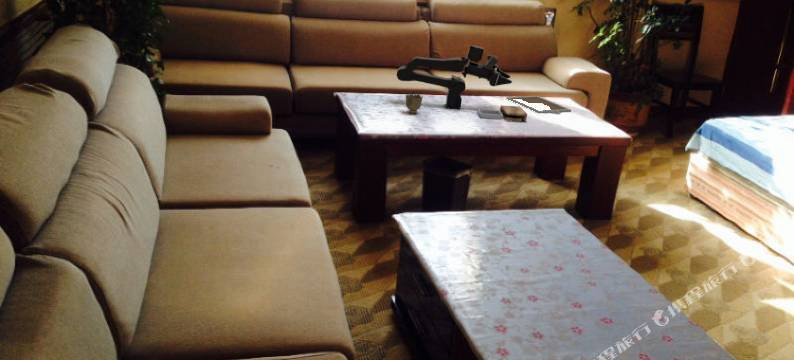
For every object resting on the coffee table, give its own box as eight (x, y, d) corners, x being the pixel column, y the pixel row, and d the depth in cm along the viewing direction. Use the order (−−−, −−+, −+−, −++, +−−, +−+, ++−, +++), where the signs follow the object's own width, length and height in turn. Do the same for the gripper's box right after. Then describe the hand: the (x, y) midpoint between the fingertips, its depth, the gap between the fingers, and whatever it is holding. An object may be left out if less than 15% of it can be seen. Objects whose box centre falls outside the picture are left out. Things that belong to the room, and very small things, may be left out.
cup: (423, 115, 284) (425, 97, 282) (408, 115, 282) (409, 97, 279) (417, 110, 291) (418, 93, 288) (401, 111, 288) (403, 93, 285)
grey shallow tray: (480, 118, 286) (481, 114, 286) (477, 113, 294) (477, 109, 293) (502, 119, 287) (503, 115, 287) (498, 114, 295) (499, 110, 294)
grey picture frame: (537, 95, 333) (575, 111, 308) (536, 98, 333) (574, 114, 308) (506, 97, 325) (542, 113, 300) (505, 100, 325) (542, 116, 300)
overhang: (506, 121, 285) (507, 112, 284) (499, 113, 297) (500, 105, 296) (526, 122, 286) (527, 114, 284) (518, 114, 298) (519, 106, 297)
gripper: (484, 58, 282) (518, 67, 283) (482, 49, 300) (514, 58, 300) (476, 82, 287) (510, 91, 287) (475, 71, 304) (507, 80, 304)
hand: (510, 79), depth 295 cm, fingers open, 9 cm apart
